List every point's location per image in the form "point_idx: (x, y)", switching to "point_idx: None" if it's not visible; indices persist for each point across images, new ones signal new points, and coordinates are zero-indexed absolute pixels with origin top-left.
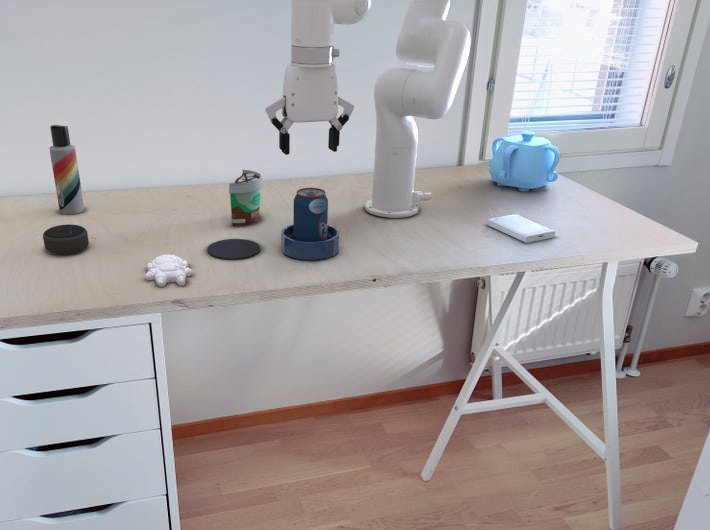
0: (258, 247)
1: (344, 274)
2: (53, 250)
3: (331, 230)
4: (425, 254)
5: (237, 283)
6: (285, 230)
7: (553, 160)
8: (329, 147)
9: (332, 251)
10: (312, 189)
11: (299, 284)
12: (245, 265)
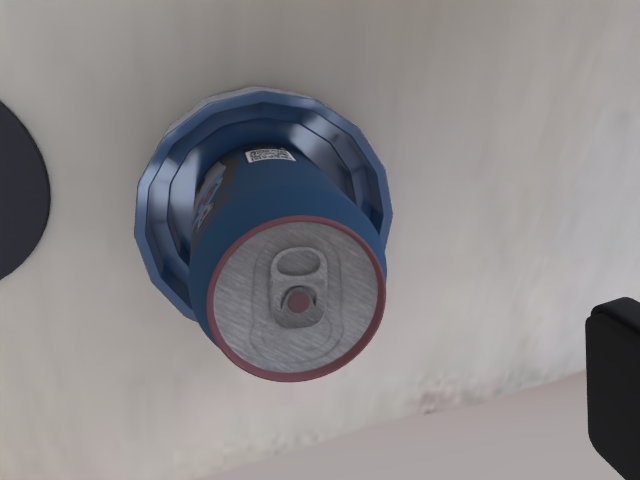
0: (38, 183)
1: (350, 392)
2: None
3: (365, 162)
4: (625, 244)
5: (2, 472)
6: (154, 178)
7: None
8: (596, 355)
9: None
10: (316, 224)
11: (209, 463)
12: (7, 338)
